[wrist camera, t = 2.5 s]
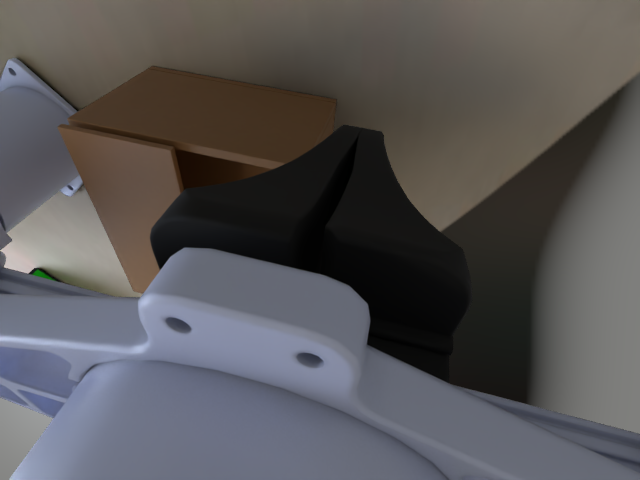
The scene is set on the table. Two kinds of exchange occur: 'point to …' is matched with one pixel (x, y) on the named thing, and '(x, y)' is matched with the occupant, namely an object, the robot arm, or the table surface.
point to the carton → (181, 147)
